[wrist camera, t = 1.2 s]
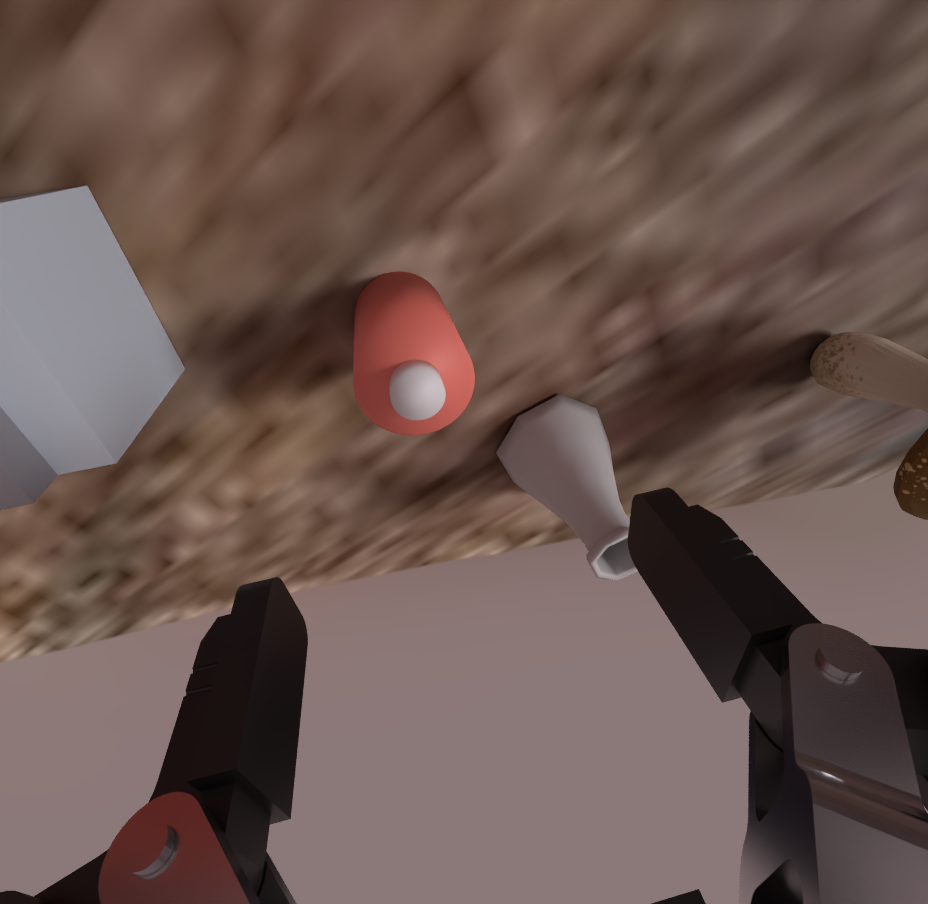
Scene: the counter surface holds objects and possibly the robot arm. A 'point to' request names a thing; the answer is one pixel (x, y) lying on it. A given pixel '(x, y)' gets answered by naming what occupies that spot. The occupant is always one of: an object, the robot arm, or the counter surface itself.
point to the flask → (572, 477)
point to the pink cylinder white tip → (408, 357)
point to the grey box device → (71, 344)
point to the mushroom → (882, 396)
